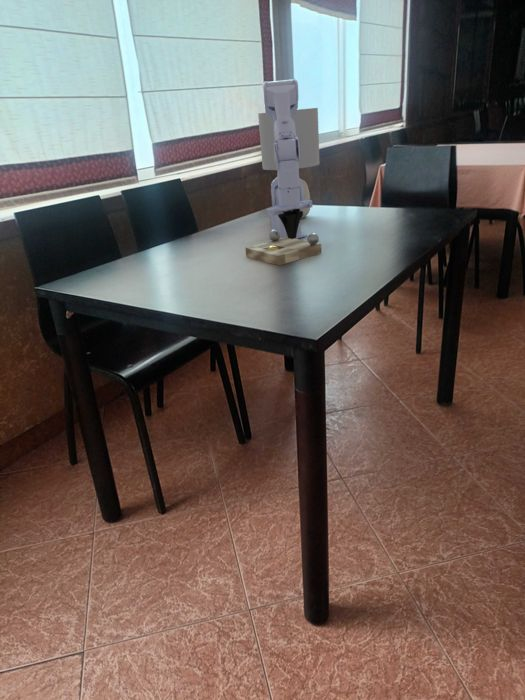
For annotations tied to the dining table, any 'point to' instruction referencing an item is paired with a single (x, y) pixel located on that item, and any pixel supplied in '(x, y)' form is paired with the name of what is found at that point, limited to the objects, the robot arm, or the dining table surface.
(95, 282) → the dining table surface
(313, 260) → the dining table surface
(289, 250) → the plate
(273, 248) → the ball
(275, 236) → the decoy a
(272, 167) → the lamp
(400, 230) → the dining table surface
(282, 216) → the robot arm
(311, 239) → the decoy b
